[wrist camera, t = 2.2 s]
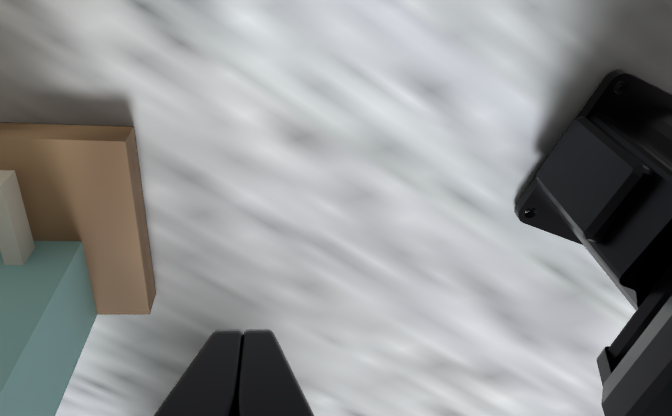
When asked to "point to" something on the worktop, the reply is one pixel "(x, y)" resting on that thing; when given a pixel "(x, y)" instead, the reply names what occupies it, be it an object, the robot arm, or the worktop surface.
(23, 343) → the block
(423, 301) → the worktop surface
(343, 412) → the worktop surface
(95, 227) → the board
